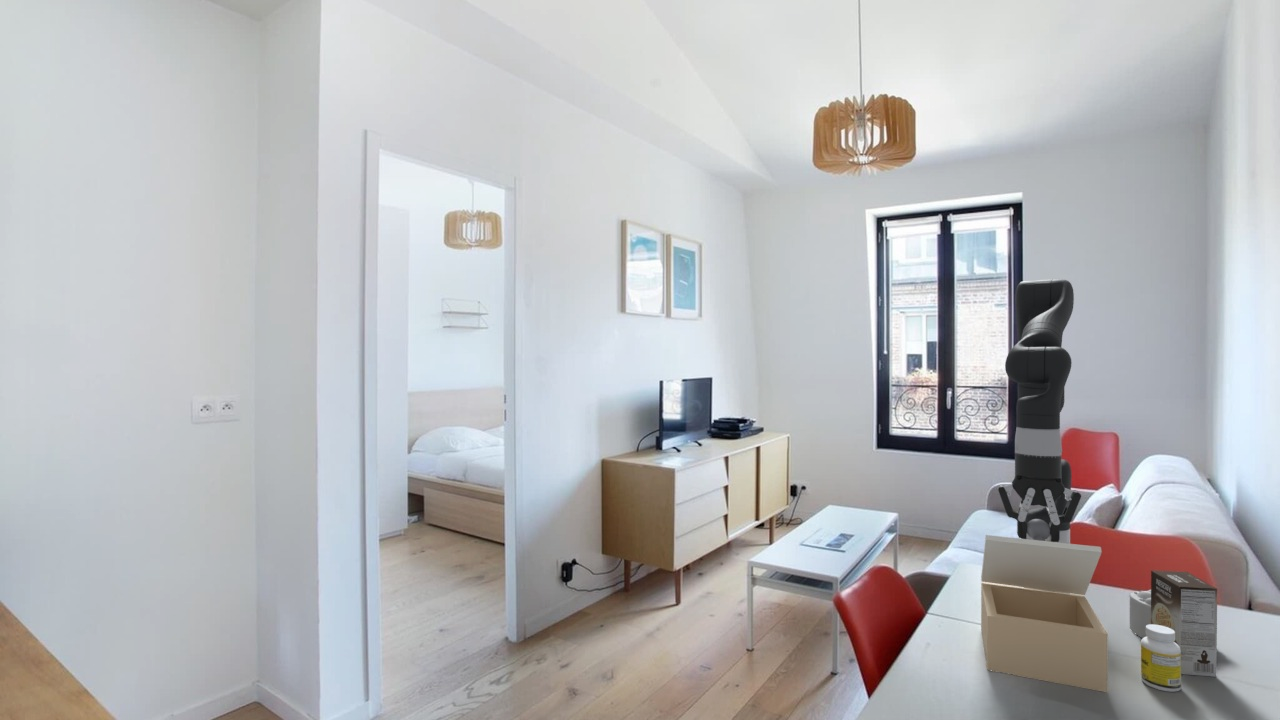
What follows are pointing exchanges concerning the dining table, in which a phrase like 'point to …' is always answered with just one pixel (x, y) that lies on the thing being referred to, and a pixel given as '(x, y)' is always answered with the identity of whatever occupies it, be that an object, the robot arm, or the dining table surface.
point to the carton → (1043, 636)
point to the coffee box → (1187, 618)
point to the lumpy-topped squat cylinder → (1140, 612)
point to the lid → (1039, 561)
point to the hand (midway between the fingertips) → (1037, 541)
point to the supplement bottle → (1160, 659)
